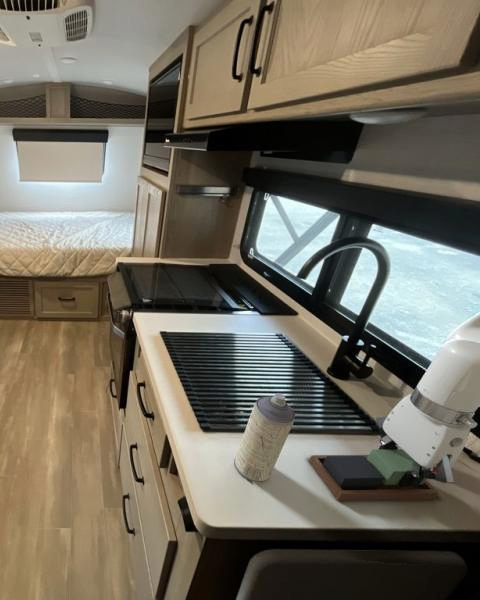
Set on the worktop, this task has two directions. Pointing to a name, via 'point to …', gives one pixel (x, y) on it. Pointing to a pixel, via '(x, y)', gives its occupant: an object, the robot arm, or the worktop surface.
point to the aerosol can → (264, 437)
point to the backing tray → (381, 493)
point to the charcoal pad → (353, 472)
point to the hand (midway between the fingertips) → (393, 471)
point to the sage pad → (391, 464)
